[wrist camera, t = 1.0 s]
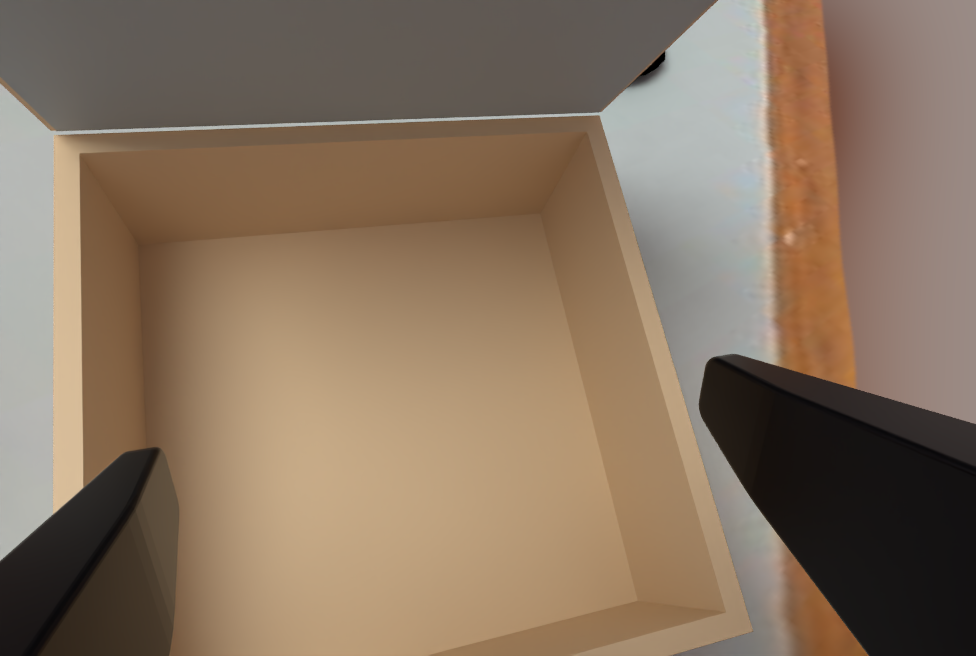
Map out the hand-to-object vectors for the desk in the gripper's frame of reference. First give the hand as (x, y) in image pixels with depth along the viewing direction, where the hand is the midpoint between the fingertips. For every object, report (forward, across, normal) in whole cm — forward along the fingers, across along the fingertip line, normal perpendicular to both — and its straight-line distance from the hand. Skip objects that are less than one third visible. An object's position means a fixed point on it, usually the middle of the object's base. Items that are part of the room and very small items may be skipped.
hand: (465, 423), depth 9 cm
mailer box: (+12, 0, +8) cm, 14 cm away
